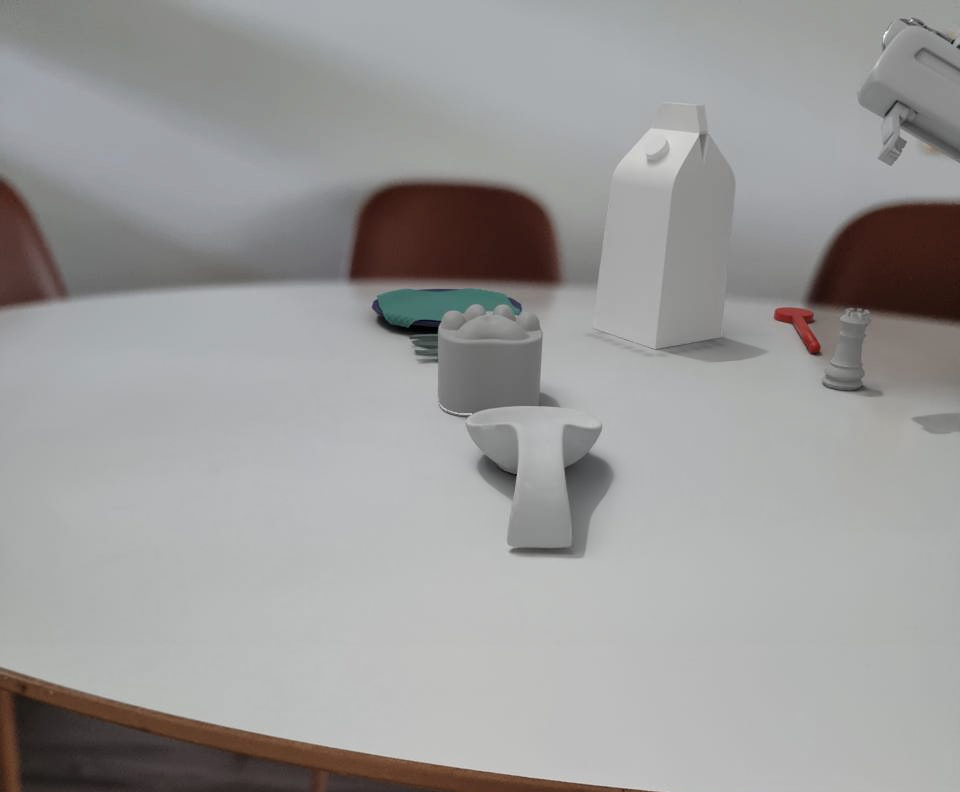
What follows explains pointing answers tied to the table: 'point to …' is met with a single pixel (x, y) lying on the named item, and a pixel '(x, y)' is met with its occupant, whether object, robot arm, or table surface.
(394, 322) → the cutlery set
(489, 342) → the lumpy-topped squat cylinder
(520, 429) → the spoon rest
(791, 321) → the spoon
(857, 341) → the rook chess piece
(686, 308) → the milk
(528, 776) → the table surface
